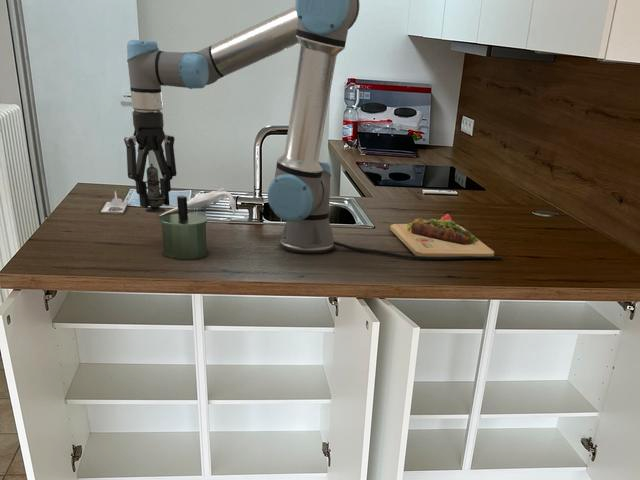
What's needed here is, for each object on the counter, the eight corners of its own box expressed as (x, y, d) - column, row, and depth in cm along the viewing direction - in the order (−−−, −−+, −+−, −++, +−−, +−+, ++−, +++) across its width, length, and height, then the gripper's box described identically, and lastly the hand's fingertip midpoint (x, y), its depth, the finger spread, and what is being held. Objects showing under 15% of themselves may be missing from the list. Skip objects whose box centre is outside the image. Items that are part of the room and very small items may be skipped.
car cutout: (107, 203, 246) (105, 188, 243) (127, 203, 247) (126, 189, 245) (100, 213, 233) (99, 198, 231) (122, 213, 234) (121, 198, 232)
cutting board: (388, 229, 236) (390, 204, 233) (458, 230, 241) (461, 206, 237) (416, 259, 207) (419, 231, 203) (496, 259, 212) (500, 232, 208)
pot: (212, 250, 203) (211, 218, 199) (198, 261, 194) (196, 227, 189) (173, 246, 204) (171, 214, 200) (157, 256, 195) (154, 223, 191)
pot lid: (213, 220, 199) (212, 194, 196) (197, 230, 189) (196, 203, 186) (170, 216, 201) (168, 190, 197) (152, 226, 191) (149, 198, 187)
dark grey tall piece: (143, 208, 203) (139, 161, 197) (165, 208, 205) (162, 161, 199) (144, 213, 198) (140, 164, 192) (167, 213, 200) (164, 165, 194)
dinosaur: (161, 232, 251) (166, 235, 236) (152, 206, 247) (156, 208, 233) (231, 210, 255) (240, 212, 241) (223, 184, 251) (231, 184, 237)
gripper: (171, 108, 197) (177, 199, 209) (105, 109, 185) (116, 206, 197) (187, 111, 193) (192, 204, 205) (121, 113, 181) (131, 212, 193)
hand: (155, 205), depth 201 cm, fingers closed on dark grey tall piece, 6 cm apart
